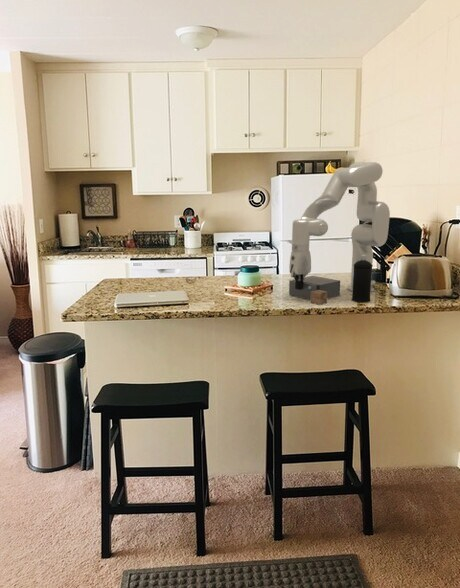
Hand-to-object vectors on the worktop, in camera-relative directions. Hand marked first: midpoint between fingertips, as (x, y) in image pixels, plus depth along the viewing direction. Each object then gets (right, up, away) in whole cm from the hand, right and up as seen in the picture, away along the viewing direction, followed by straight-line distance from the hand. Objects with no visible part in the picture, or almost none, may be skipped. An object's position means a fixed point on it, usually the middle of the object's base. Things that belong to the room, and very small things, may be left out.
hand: (299, 289), depth 229 cm
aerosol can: (+27, -5, -1) cm, 28 cm away
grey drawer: (+7, -3, +7) cm, 10 cm away
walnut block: (+8, -6, -6) cm, 11 cm away
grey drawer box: (+9, -3, +9) cm, 13 cm away
